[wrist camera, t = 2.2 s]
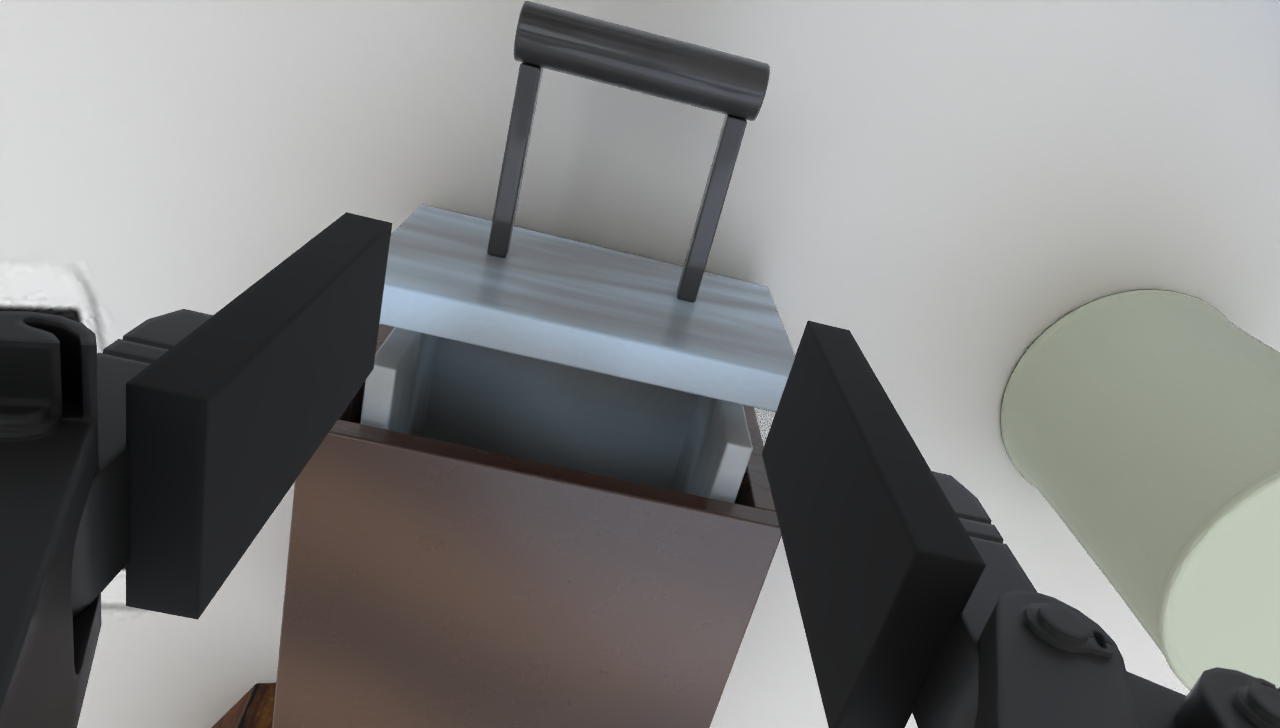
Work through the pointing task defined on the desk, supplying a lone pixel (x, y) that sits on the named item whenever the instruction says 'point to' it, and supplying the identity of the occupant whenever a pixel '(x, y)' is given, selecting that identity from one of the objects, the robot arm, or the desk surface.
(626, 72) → the drawer
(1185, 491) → the can
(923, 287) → the desk surface
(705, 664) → the cabinet
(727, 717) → the desk surface
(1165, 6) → the desk surface
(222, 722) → the mug
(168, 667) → the desk surface
